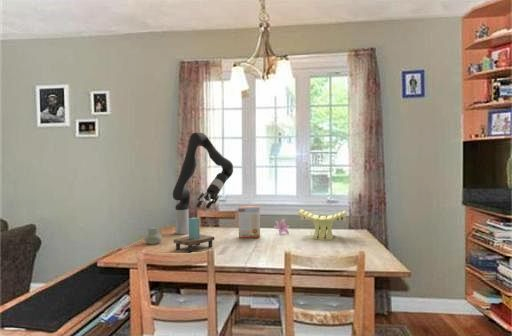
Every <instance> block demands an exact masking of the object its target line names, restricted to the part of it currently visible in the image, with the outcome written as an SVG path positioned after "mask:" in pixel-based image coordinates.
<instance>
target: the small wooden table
mask: <svg viewBox="0 0 512 336" xmlns="http://www.w3.org/2000/svg"><path fill="white" fill-rule="evenodd" d="M199 234H200V238H197V239H190V238H189V235H188V236H183V237H179V238H175V239H173V244H175V250H176V251H177V250H179V249H180V250H181V246H186V247H187V246H188V247H187V249H188V250H187V252H188V253H191V252H190V251H192V252H193V246H195V245H196V246H197V245H198V246H200V245H201V244H203V243H204V244H205V243H208V245H207V247H208V248H213V241H215V236H212V235H206V234H201V233H199Z"/></svg>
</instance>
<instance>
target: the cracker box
mask: <svg viewBox="0 0 512 336" xmlns="http://www.w3.org/2000/svg"><path fill="white" fill-rule="evenodd" d="M237 209H238V210H237V211H238V238H239V239H247V238H248V239H259V238H260V237H261V219H260V218H261V214H260V211H261V210H260V206H259V205H254V206H253V205H250V206H249V205H247V206H246V205H243V206H241V205H240V206H238V208H237Z"/></svg>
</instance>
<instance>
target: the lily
mask: <svg viewBox="0 0 512 336" xmlns="http://www.w3.org/2000/svg"><path fill="white" fill-rule="evenodd" d="M275 223H276V225H274V226H273V229H275V230H278V233H279V235H282V234H283V232H284V233H286V234H287V235H289V234H290V232H289V229H288V228H290V225H288V224H286V219H285V218H282V219H281V220H280V221H278V220H275Z"/></svg>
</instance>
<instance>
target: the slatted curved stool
mask: <svg viewBox="0 0 512 336" xmlns="http://www.w3.org/2000/svg"><path fill="white" fill-rule="evenodd" d="M297 213H298V217H300V221H304V220H309V221H311V222H312V223H313V225H314V230H315V231H314V233H313V235H312V237H311V240H330V241H332V240H333V237H334V235H333V224H334V223H335V222H337V221H343V222H347V210H346V209H344V210H343V211H340V212H338V213H335V214H331V215H330V214H329V215H319V214H314V213H312V212H309V211H307V210H306V211H305V209H303V208H300V209H299V210H298V212H297Z"/></svg>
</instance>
